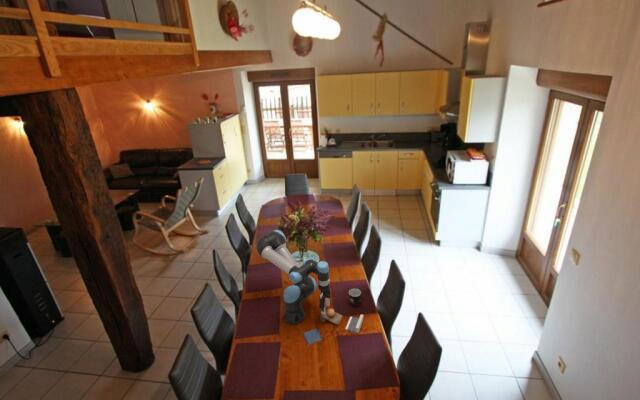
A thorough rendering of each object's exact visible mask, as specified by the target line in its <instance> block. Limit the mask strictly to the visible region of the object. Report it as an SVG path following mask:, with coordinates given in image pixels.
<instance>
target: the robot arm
mask: <svg viewBox="0 0 640 400" xmlns="http://www.w3.org/2000/svg"><path fill="white" fill-rule="evenodd" d="M255 250H256V252H257V254H258V255H259V257H261V258H263V259H266V260H268V261H269V262H271V264H273V265H275V266H276V267H277V268H279V270H281V271H283V272H284V273H285V274H287V275H288V279H289V281H290V282H291V283H292V285H289V286H287V287H285V289H284V290H283V302H284V312H283V319H284V322H285V323H287V324H288V325H298V324H300V323H302V322H303V321H304V320H305V319H306V313H305V310H304V308H303V305H302V303H303V302H304V301H305V300H307V299H308V298H309V297H310V296H312V295H313V294H314V293H315V292H316V291H317V289H318V290H319V291H320V295H319V297H318V299H319V302H318V303H319V309H320V313H321V314H323V315H325V307H330V306H331V303H330V299H331V294H332V293H331V288H330V287H331V286H330V285H331V284H330V281H331V280H330V267H329V263H328V262H327V261H325V260H322V261H316V260H314V259H311V258H305V259H304V261H303V262H302V264H301V266H299V264H298V263H297V261H296V259H295V258H294V257H293V256H292V253H291V252H290V251H289V249H288V248H287V239H286V236H285V233H283V231H282V230H279V229H274V230H272V231H270V232H269V233H266V234H265V235H262V236H261V237H259V238H258V239H257V241H256V244H255ZM312 273H313V274H314V275H316V276H317V281H316V280H315V278H314V277H312V276H310V275H311V274H312ZM321 314H320V315H321Z"/></svg>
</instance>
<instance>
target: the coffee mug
mask: <svg viewBox="0 0 640 400" xmlns="http://www.w3.org/2000/svg"><path fill="white" fill-rule="evenodd" d="M348 294H349V295H348V296H349V302H350V305H351V306H353V307H359V305H360V303H364V301H365V300H364V298H363V297H362V295H361V294H362V292H361V290H360V289H359V288H351V289H349V291H348ZM361 299H362V301H361Z"/></svg>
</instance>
